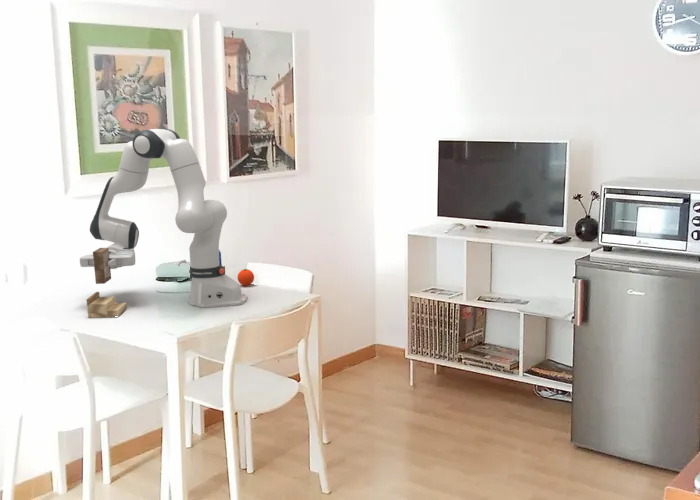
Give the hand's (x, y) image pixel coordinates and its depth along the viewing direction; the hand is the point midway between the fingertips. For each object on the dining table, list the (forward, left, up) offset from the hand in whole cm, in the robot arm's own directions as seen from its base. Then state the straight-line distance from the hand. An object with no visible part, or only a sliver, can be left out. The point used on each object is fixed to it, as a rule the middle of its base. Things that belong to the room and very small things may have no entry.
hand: (101, 264), depth 297 cm
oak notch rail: (-2, +4, -18) cm, 18 cm away
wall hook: (-22, -47, -18) cm, 55 cm away
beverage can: (-32, -53, -18) cm, 65 cm away
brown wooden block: (0, -1, -6) cm, 7 cm away
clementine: (-48, -36, -18) cm, 63 cm away
